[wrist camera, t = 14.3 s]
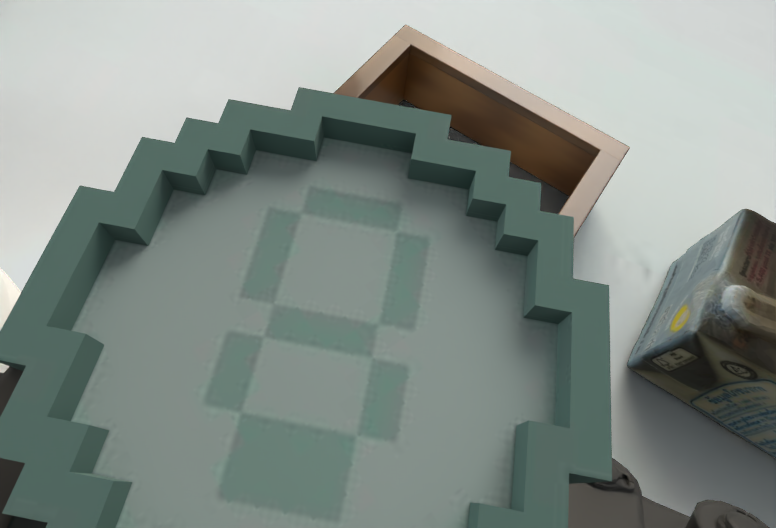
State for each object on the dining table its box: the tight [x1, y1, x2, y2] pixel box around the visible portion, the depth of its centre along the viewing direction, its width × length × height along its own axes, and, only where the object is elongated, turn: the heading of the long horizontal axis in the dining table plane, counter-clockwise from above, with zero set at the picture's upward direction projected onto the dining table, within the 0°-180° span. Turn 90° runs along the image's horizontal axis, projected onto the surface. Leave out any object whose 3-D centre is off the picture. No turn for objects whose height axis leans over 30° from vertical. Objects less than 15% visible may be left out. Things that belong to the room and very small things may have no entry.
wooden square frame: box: [333, 25, 630, 239], centre depth 26 cm, size 14×14×4 cm
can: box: [0, 87, 612, 528], centre depth 12 cm, size 6×6×15 cm
